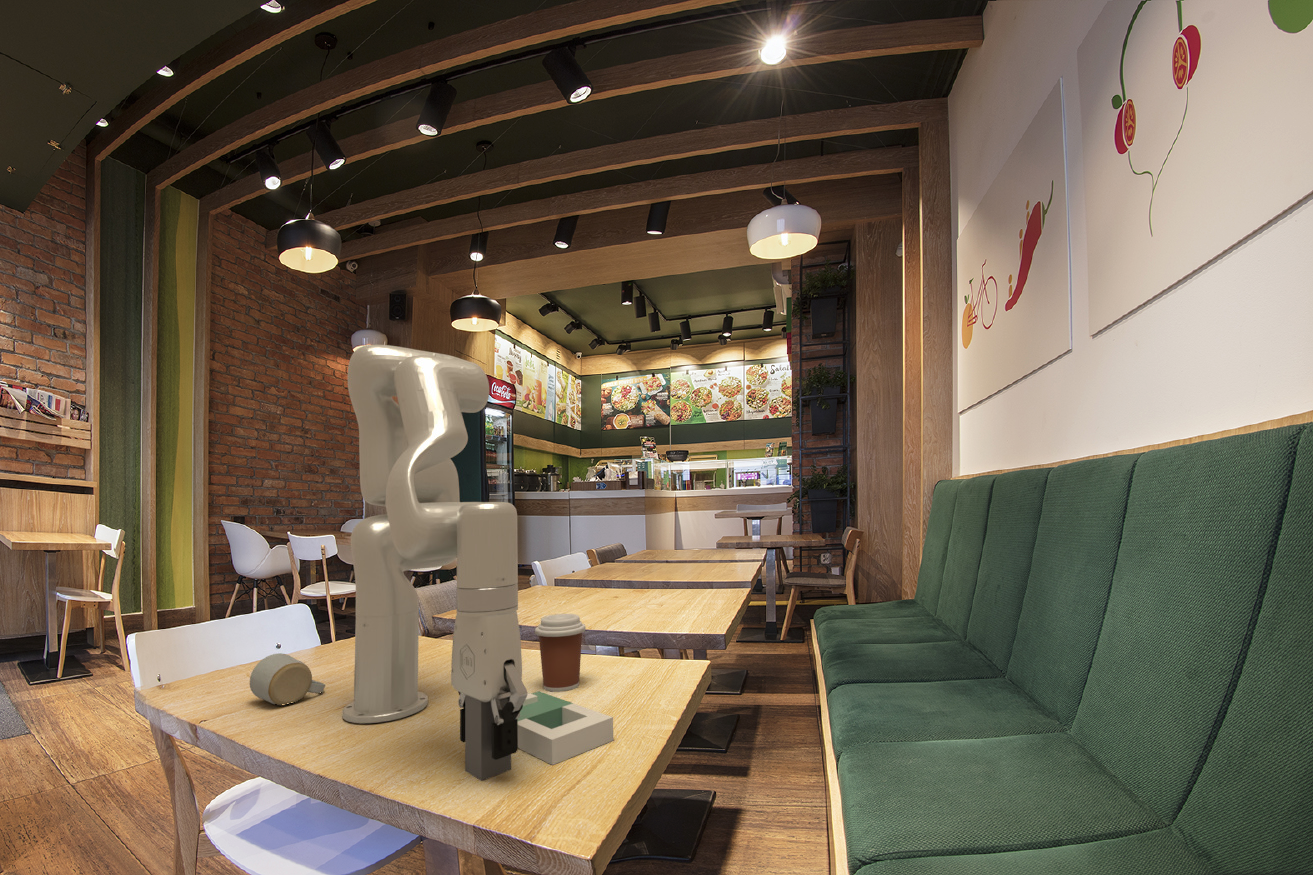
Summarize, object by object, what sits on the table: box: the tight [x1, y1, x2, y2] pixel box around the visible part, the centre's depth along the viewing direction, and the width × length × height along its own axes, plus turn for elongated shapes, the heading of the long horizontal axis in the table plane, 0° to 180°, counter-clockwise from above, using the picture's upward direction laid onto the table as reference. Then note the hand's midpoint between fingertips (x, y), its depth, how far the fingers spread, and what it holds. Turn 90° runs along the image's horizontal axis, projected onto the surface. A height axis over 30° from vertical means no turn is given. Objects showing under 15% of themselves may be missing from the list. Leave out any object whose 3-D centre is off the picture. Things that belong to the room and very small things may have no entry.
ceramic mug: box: [249, 653, 326, 706], centre depth 104 cm, size 11×8×8 cm
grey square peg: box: [464, 690, 512, 782], centre depth 73 cm, size 4×4×9 cm
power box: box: [517, 691, 614, 766], centre depth 83 cm, size 18×10×4 cm, turn 45°
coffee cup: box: [534, 613, 587, 693], centre depth 106 cm, size 9×9×12 cm
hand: (488, 745), depth 73 cm, fingers open, 7 cm apart
